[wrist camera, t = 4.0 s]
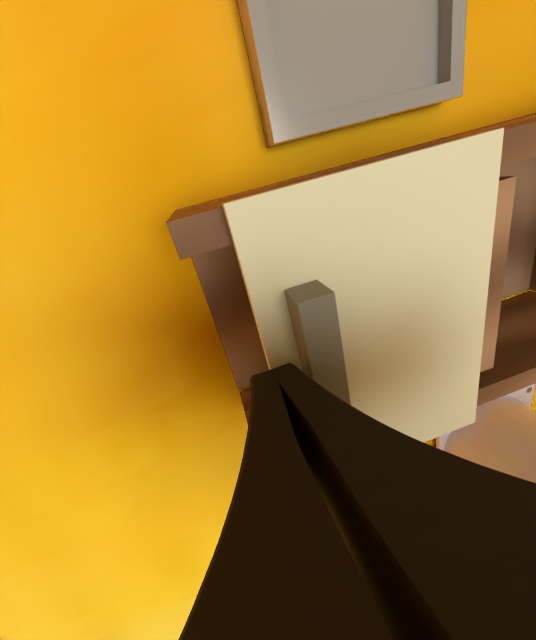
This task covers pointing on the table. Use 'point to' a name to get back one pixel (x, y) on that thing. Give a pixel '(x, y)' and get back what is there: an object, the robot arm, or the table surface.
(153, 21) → the table surface
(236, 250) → the cream cabinet door
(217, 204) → the brown cabinet
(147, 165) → the table surface
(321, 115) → the slate tray
